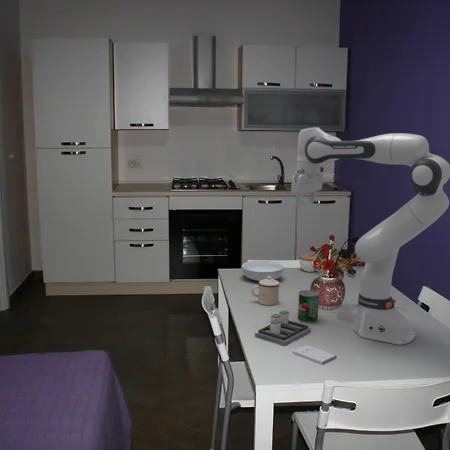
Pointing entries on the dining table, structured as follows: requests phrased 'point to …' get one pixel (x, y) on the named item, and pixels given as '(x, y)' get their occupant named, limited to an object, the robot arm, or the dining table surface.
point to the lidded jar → (307, 262)
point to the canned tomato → (308, 306)
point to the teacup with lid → (268, 291)
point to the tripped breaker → (275, 327)
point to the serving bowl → (262, 270)
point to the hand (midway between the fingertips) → (306, 203)
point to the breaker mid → (276, 317)
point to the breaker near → (284, 316)
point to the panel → (284, 333)
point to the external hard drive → (314, 354)
